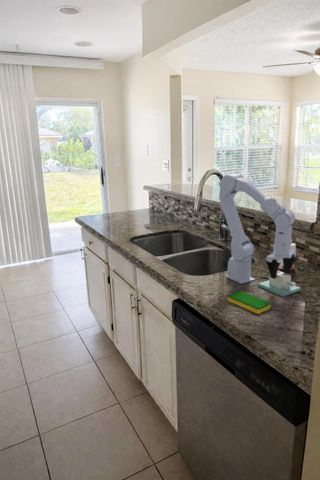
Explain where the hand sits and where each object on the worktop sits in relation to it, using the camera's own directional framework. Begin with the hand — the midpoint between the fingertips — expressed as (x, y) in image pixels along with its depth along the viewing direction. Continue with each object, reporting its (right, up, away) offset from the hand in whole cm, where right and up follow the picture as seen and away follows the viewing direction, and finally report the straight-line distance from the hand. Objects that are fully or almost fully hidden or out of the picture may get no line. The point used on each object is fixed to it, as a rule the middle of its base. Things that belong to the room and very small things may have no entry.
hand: (279, 276), depth 135 cm
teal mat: (0, -5, +1) cm, 5 cm away
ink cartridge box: (+10, +1, +24) cm, 26 cm away
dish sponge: (-15, -9, -12) cm, 21 cm away
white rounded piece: (0, -4, +1) cm, 4 cm away
